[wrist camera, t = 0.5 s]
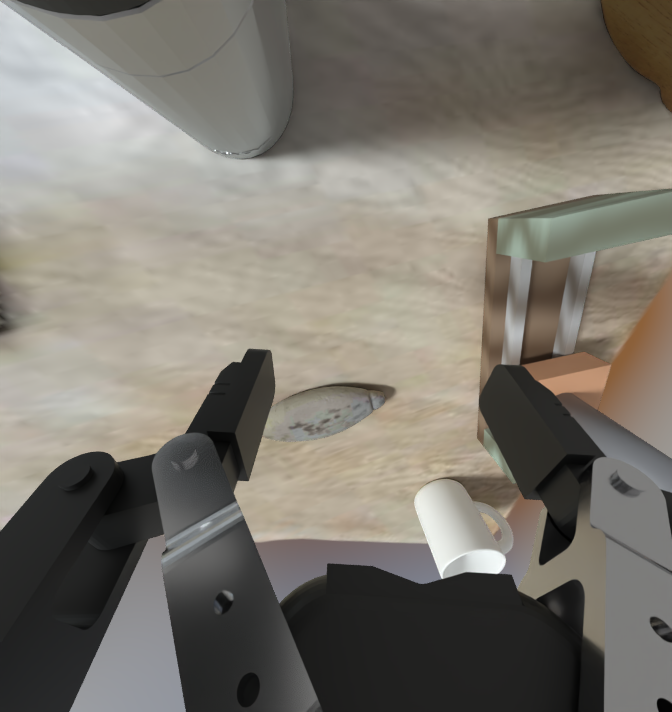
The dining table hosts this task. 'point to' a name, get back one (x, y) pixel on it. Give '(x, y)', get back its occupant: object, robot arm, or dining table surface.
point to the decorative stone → (320, 413)
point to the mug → (460, 530)
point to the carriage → (582, 399)
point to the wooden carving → (644, 38)
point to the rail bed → (553, 276)
